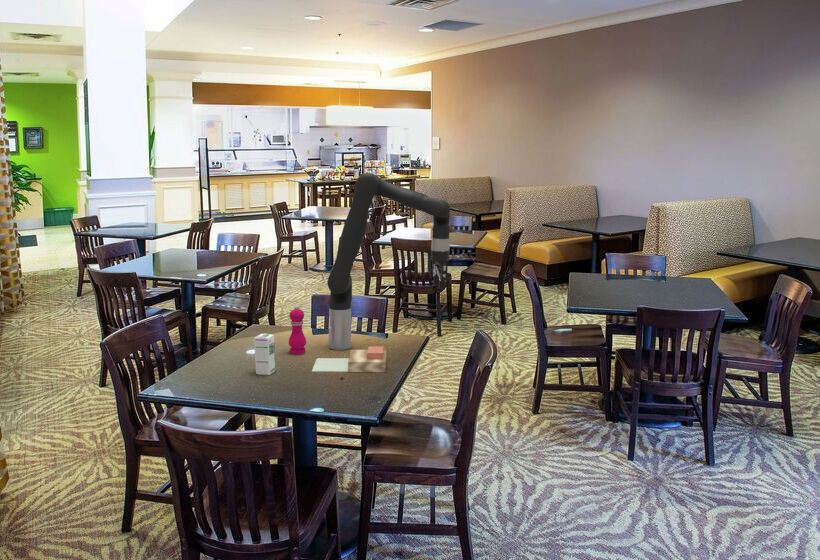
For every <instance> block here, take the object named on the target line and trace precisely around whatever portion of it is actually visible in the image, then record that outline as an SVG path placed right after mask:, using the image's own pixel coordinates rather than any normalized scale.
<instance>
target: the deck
mask: <svg viewBox="0 0 820 560" xmlns="http://www.w3.org/2000/svg"><path fill="white" fill-rule="evenodd" d="M367 351H368V349H351V350H350V354H349V357H348V358H349V360H348V372H347V373H386V365H387V349H384V353H383V359H367Z"/></svg>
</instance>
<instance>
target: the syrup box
mask: <svg viewBox="0 0 820 560" xmlns="http://www.w3.org/2000/svg"><path fill="white" fill-rule="evenodd" d="M253 339H254V361H255V362H254V363H255V373H256V375H259V376H261V375H263V376H271V375H272V374H273V373H274V372H276V371H277V369H276V368H277V367H276V365H277V364H276V347H275V346H276V345H275V334H273V333H260V334H258V335H257V336H255V337H253Z"/></svg>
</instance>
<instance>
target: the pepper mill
mask: <svg viewBox="0 0 820 560" xmlns="http://www.w3.org/2000/svg"><path fill="white" fill-rule="evenodd" d="M299 308H300V307H299V306H298V305H294V309H292V310H290V312H289V319H290V320H291V321H290V325H291V334H290V336H289V338H288V346H289V347H290V348H289V352H290V354H291V355H303V354H305V353H306V347H305V346H306V344H307V339H306V336H305V334H304V332H303V324H304V320H303V319H304V318H305V313H304V311H303V310H302V309H299Z"/></svg>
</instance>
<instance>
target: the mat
mask: <svg viewBox="0 0 820 560" xmlns="http://www.w3.org/2000/svg"><path fill="white" fill-rule="evenodd" d="M348 360H349V357H347V358H345V357H342V358H341V357H340V358H339V357H338V358H336V357H335V358H333V357H332V358H330V357H328V358H327V357H325V358H323V357H321V358H320V357H318V358H316V360H315V362H314V364H313V367H312V370H311V372H312V373H349V372H348Z"/></svg>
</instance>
